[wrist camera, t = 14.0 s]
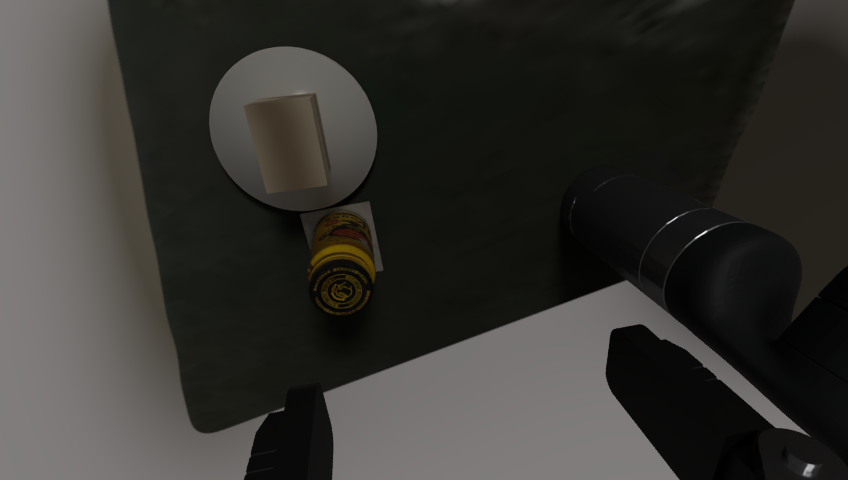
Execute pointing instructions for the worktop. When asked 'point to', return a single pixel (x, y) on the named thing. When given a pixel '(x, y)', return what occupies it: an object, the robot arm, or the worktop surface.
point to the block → (289, 142)
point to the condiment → (341, 258)
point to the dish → (340, 114)
